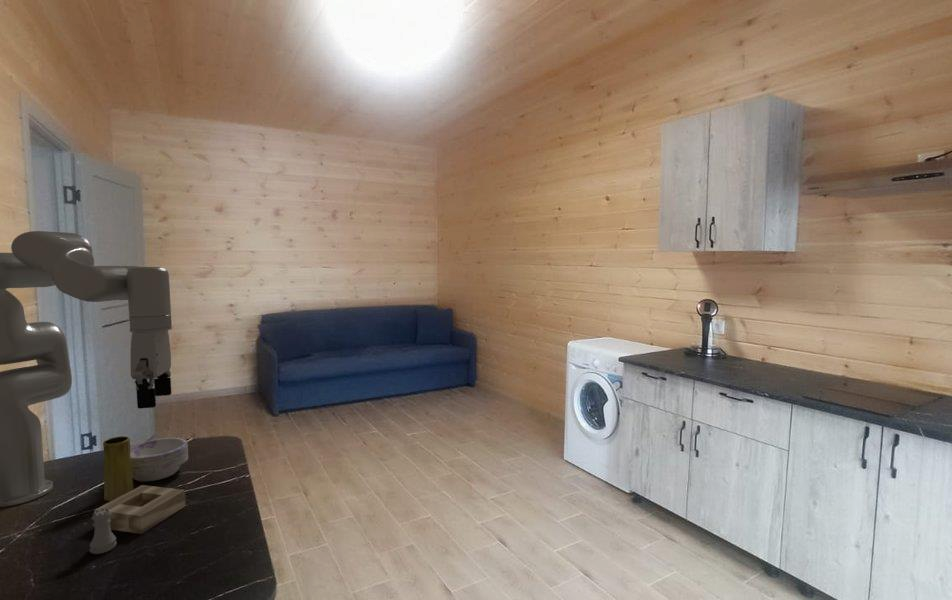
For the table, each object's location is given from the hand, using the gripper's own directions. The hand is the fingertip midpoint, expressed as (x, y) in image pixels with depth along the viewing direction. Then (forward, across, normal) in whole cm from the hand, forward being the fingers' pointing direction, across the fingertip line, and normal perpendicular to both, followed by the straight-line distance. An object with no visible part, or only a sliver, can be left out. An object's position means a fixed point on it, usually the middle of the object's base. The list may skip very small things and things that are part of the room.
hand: (155, 401), depth 105 cm
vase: (+28, -17, -15) cm, 36 cm away
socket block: (+28, -5, -6) cm, 29 cm away
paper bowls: (+28, -28, -10) cm, 41 cm away
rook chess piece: (+28, +7, -8) cm, 30 cm away
